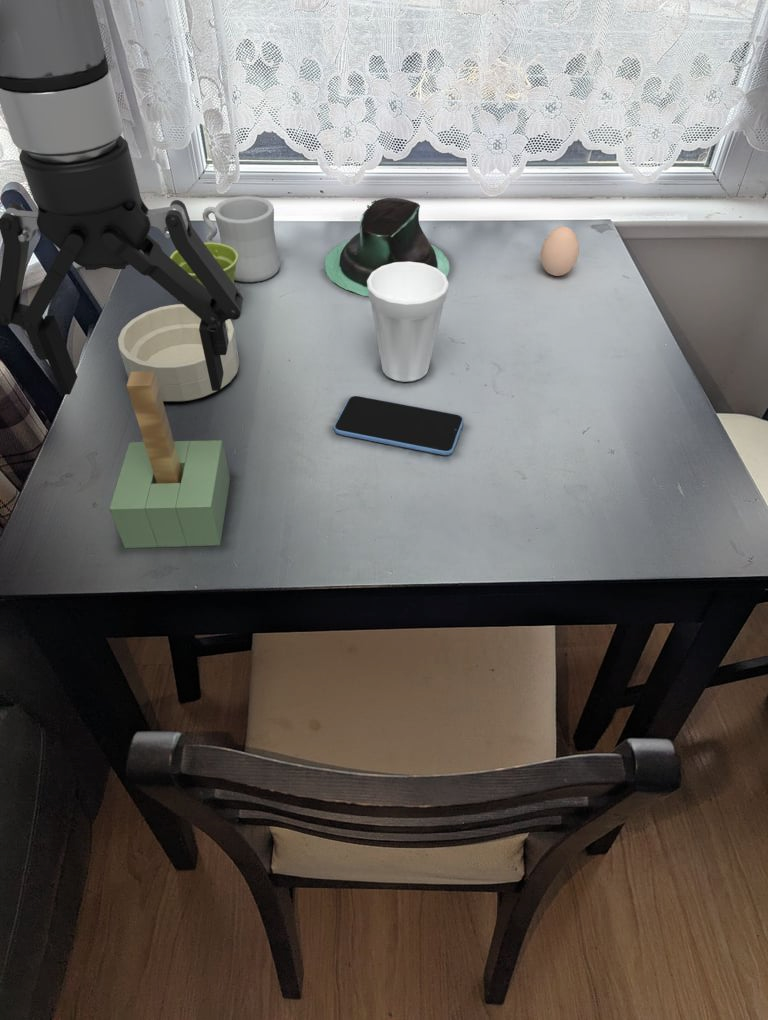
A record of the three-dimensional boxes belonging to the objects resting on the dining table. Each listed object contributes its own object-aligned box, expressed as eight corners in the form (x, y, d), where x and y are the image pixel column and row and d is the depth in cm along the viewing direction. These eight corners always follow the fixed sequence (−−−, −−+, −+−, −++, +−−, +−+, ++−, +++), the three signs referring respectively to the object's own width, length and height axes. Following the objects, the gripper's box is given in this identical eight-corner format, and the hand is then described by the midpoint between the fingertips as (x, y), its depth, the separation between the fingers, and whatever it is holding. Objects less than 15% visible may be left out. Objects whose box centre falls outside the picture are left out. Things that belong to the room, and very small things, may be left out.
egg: (578, 282, 114) (588, 235, 109) (543, 284, 114) (551, 237, 108) (567, 263, 118) (577, 218, 113) (533, 266, 118) (540, 220, 112)
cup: (364, 391, 95) (363, 301, 85) (371, 347, 102) (370, 259, 92) (441, 394, 94) (448, 304, 85) (442, 350, 101) (449, 262, 92)
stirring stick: (168, 520, 79) (126, 385, 66) (171, 505, 81) (130, 371, 68) (188, 519, 79) (150, 385, 66) (191, 504, 81) (154, 370, 68)
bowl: (158, 421, 91) (147, 381, 86) (112, 365, 98) (100, 327, 94) (259, 379, 97) (253, 340, 92) (208, 330, 104) (201, 292, 100)
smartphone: (350, 393, 93) (465, 414, 90) (350, 398, 94) (464, 420, 91) (331, 429, 88) (452, 452, 85) (331, 434, 89) (451, 458, 86)
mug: (291, 263, 118) (285, 201, 111) (262, 289, 112) (254, 226, 105) (225, 247, 121) (215, 187, 114) (194, 273, 116) (182, 211, 108)
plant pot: (210, 289, 112) (200, 235, 106) (258, 307, 109) (251, 252, 102) (167, 318, 107) (154, 262, 100) (217, 337, 103) (207, 281, 97)
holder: (124, 548, 76) (108, 509, 72) (142, 481, 83) (129, 441, 79) (220, 545, 77) (210, 506, 72) (230, 479, 84) (222, 439, 79)
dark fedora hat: (447, 299, 109) (314, 296, 110) (448, 296, 126) (333, 293, 128) (452, 190, 104) (314, 188, 106) (452, 203, 122) (334, 201, 123)
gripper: (252, 119, 55) (281, 356, 70) (-86, 125, 54) (19, 363, 70) (242, 159, 50) (276, 405, 65) (-130, 166, 49) (-6, 413, 64)
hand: (144, 384), depth 67 cm, fingers open, 13 cm apart
